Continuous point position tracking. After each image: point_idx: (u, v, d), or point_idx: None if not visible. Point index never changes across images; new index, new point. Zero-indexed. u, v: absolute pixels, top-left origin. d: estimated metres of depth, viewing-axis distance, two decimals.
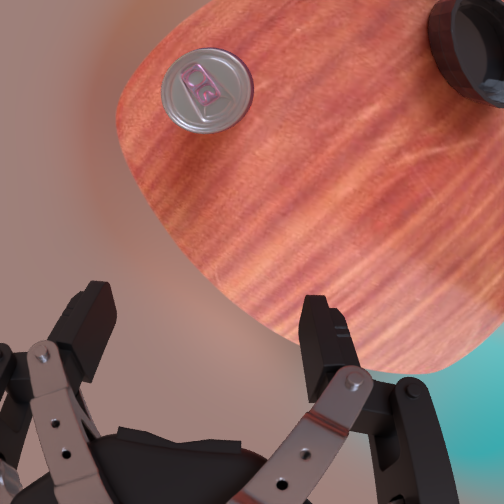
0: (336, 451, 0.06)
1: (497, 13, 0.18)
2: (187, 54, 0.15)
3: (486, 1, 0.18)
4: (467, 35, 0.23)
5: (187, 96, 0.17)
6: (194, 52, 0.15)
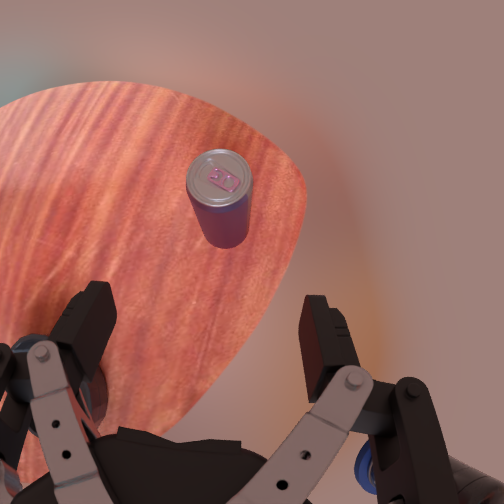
0: (336, 451, 0.06)
1: None
2: (241, 194, 0.25)
3: None
4: None
5: (228, 168, 0.26)
6: (237, 197, 0.25)
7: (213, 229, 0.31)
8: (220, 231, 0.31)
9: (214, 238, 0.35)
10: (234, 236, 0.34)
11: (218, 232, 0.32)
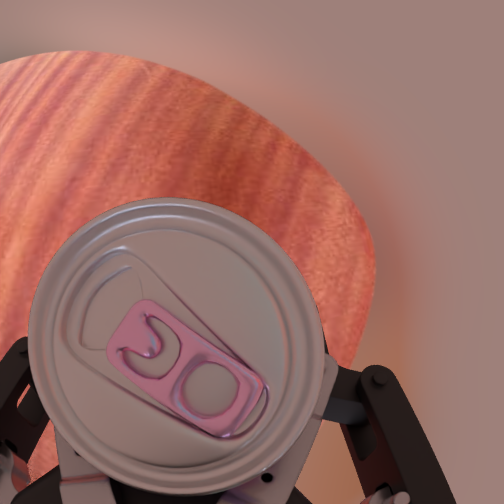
0: (313, 437, 0.06)
1: None
2: (272, 461, 0.04)
3: None
4: None
5: (210, 315, 0.05)
6: (250, 473, 0.04)
7: None
8: None
9: None
10: None
11: None
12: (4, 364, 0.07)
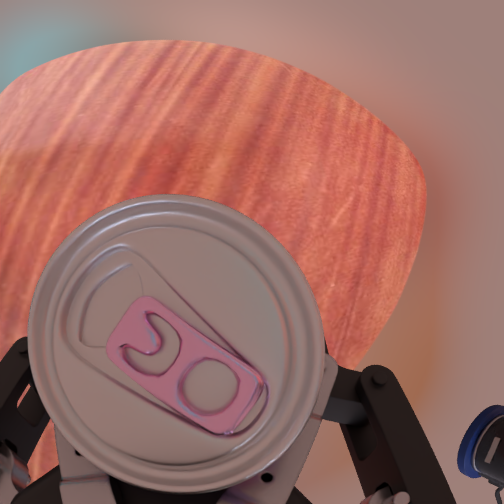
0: (313, 437, 0.06)
1: None
2: (272, 458, 0.04)
3: None
4: None
5: (211, 310, 0.05)
6: (251, 471, 0.04)
7: None
8: None
9: None
10: None
11: None
12: (4, 364, 0.07)
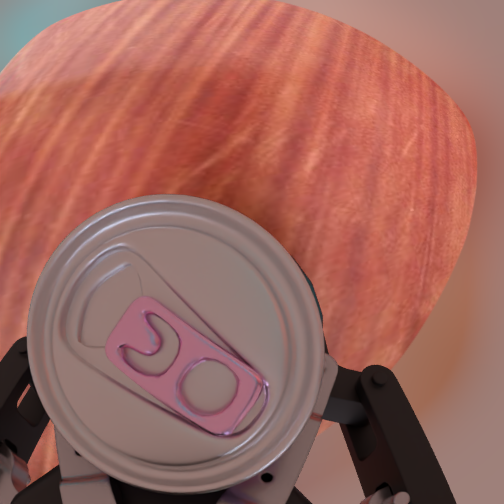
0: (313, 437, 0.06)
1: None
2: (271, 459, 0.04)
3: None
4: None
5: (210, 311, 0.05)
6: (250, 471, 0.04)
7: None
8: None
9: None
10: None
11: None
12: (4, 364, 0.07)
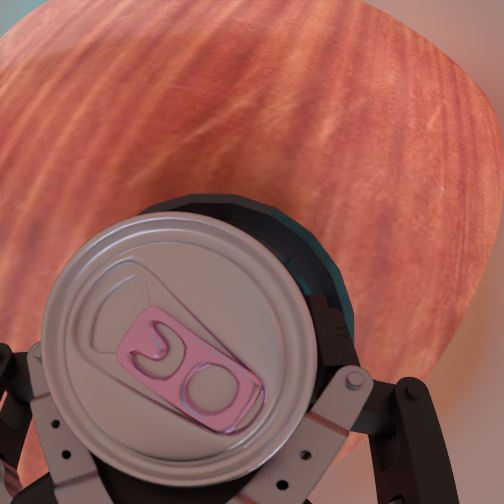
0: (336, 451, 0.06)
1: None
2: (268, 455, 0.05)
3: None
4: None
5: (213, 320, 0.05)
6: (249, 466, 0.05)
7: None
8: None
9: None
10: None
11: None
12: None
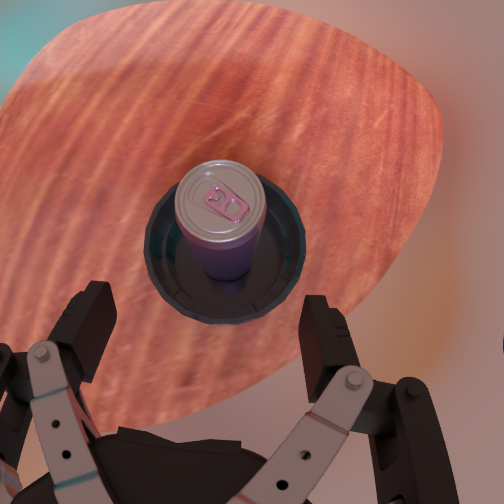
0: (336, 451, 0.06)
1: None
2: (250, 227, 0.18)
3: None
4: None
5: (234, 188, 0.19)
6: (244, 231, 0.18)
7: (209, 263, 0.24)
8: (219, 266, 0.24)
9: (211, 271, 0.28)
10: (236, 270, 0.27)
11: (216, 266, 0.25)
12: None
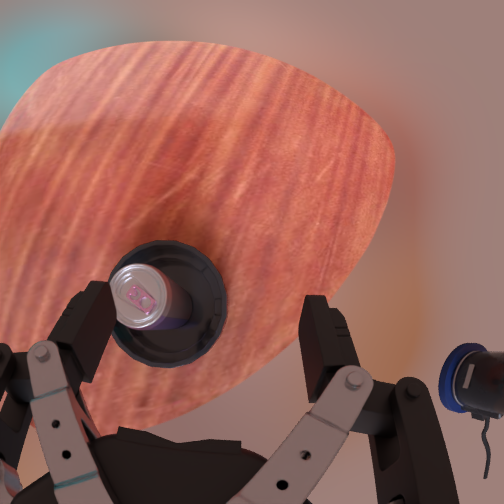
0: (336, 451, 0.06)
1: (165, 360, 0.35)
2: (156, 318, 0.24)
3: (185, 358, 0.35)
4: None
5: (146, 287, 0.25)
6: (152, 321, 0.24)
7: None
8: None
9: None
10: (169, 328, 0.33)
11: None
12: None
